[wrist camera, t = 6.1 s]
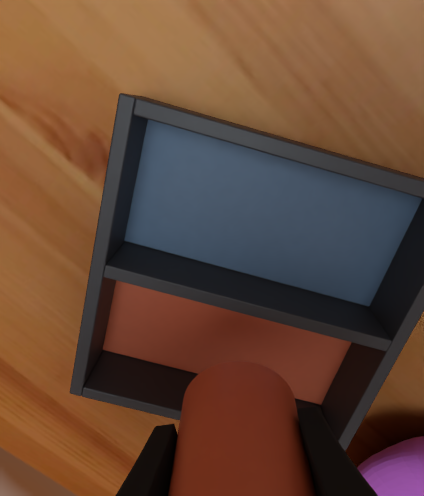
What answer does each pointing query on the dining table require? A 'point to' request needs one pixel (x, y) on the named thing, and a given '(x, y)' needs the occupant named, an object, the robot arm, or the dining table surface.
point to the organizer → (246, 265)
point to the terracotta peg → (240, 436)
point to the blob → (397, 469)
